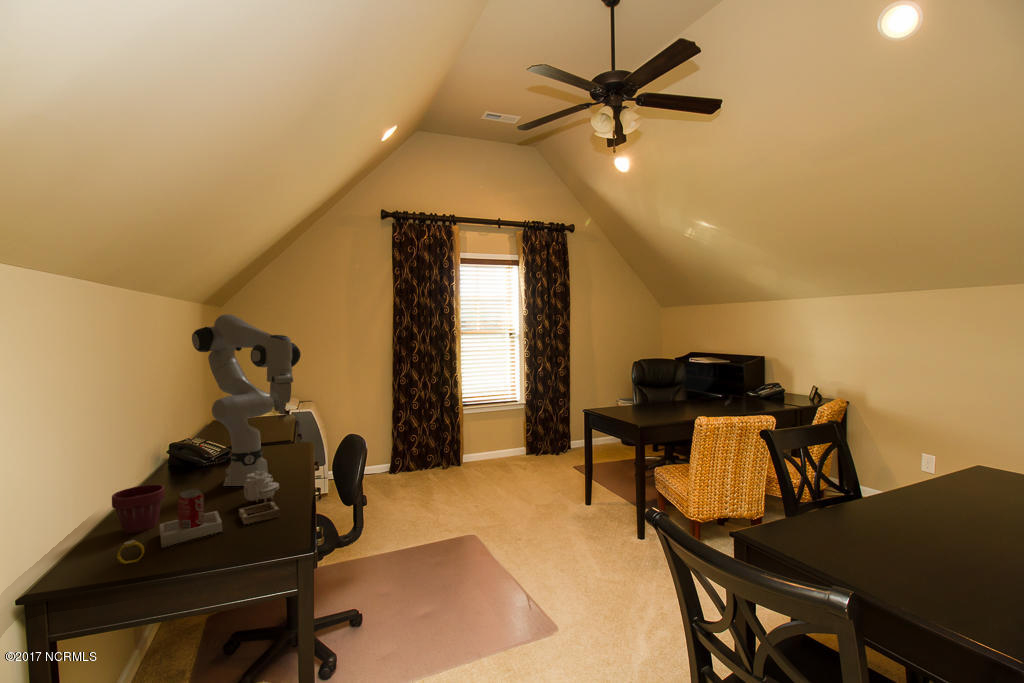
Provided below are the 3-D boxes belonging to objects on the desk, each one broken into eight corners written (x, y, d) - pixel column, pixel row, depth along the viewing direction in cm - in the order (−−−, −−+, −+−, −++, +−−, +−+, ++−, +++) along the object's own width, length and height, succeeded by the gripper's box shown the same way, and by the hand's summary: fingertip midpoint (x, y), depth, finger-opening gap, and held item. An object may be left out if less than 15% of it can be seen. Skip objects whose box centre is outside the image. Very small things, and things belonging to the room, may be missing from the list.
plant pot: (174, 523, 162) (172, 486, 161) (126, 540, 149) (123, 500, 149) (154, 516, 169) (151, 481, 168) (105, 532, 156) (103, 494, 156)
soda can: (204, 517, 159) (203, 485, 157) (204, 529, 154) (203, 496, 151) (178, 522, 155) (177, 489, 153) (178, 534, 150) (177, 500, 147)
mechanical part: (285, 498, 183) (283, 468, 183) (254, 508, 173) (252, 476, 173) (269, 493, 189) (268, 464, 189) (239, 503, 179) (237, 472, 179)
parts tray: (160, 534, 153) (159, 524, 153) (217, 520, 163) (217, 510, 163) (161, 548, 143) (160, 536, 142) (222, 532, 152) (221, 521, 152)
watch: (117, 567, 132) (114, 547, 131) (120, 563, 134) (117, 543, 134) (143, 560, 134) (140, 540, 134) (146, 556, 137) (143, 537, 137)
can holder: (239, 515, 166) (238, 509, 166) (273, 507, 173) (272, 501, 173) (244, 525, 158) (244, 518, 158) (279, 516, 164) (279, 509, 164)
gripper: (265, 375, 188) (265, 409, 188) (275, 379, 172) (275, 416, 172) (282, 374, 192) (282, 408, 192) (294, 378, 175) (294, 415, 175)
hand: (279, 412), depth 182 cm, fingers open, 8 cm apart
